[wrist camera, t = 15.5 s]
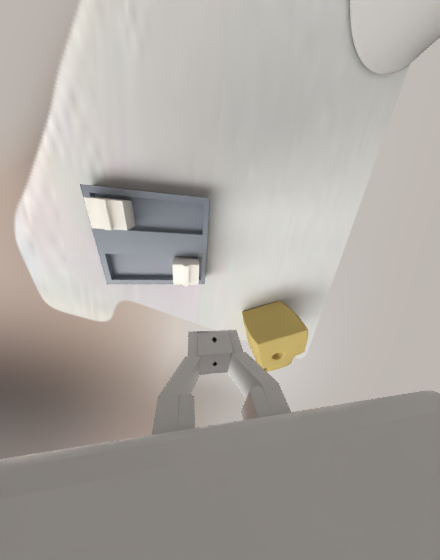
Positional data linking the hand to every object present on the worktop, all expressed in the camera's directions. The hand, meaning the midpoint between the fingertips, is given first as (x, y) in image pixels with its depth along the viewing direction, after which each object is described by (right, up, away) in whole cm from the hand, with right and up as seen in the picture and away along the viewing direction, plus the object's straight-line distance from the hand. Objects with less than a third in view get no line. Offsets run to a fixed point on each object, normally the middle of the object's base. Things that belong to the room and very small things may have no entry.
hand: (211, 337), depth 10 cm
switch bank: (-10, +10, +16) cm, 22 cm away
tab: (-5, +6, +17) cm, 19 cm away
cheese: (+11, -6, +30) cm, 32 cm away
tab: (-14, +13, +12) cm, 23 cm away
